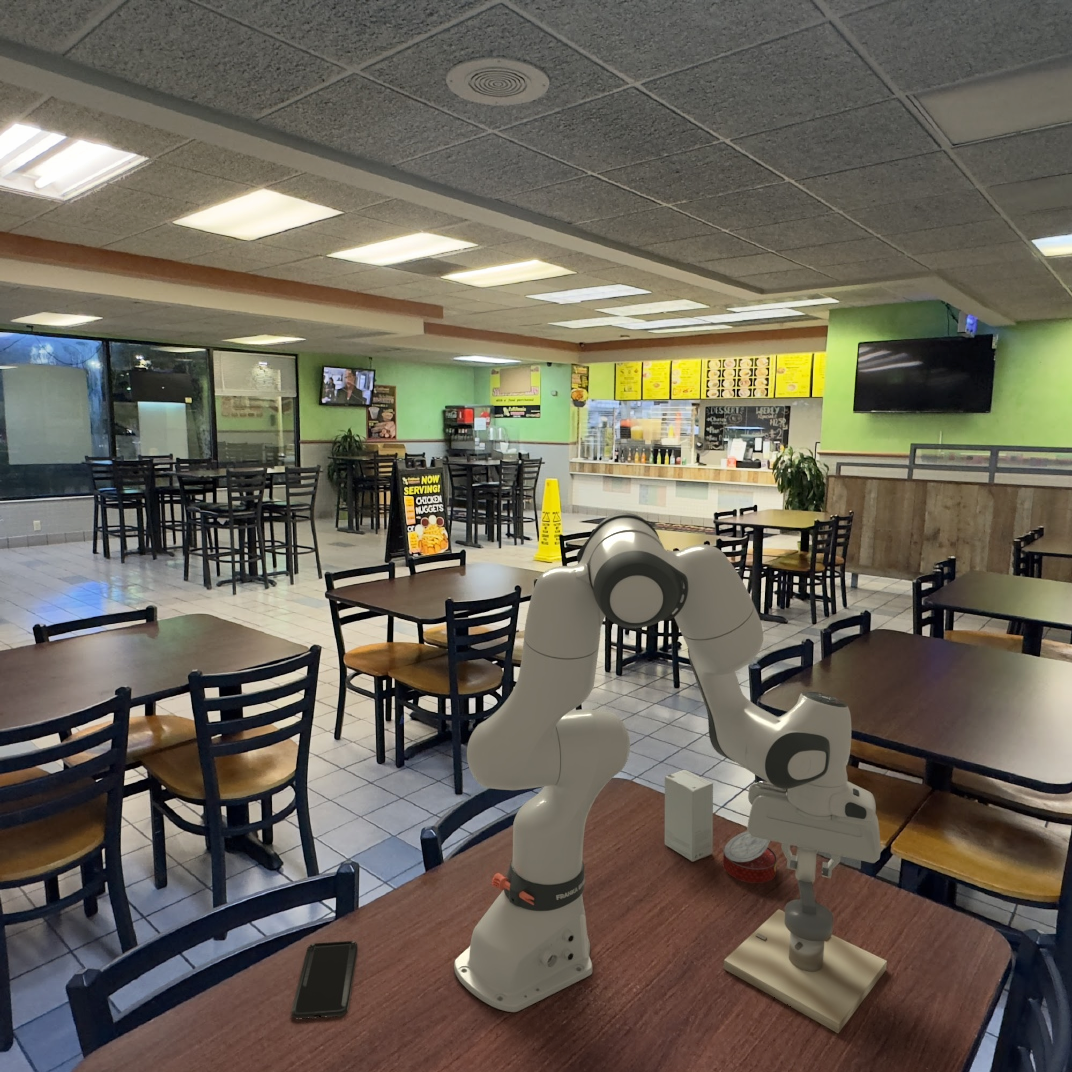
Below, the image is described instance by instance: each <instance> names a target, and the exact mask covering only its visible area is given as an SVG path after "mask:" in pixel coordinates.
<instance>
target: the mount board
mask: <svg viewBox="0 0 1072 1072" xmlns="http://www.w3.org/2000/svg"><path fill="white" fill-rule="evenodd" d="M784 920H785V910H784V911H783V910H782V909H777V910H776V911H775V912H774V913H773V914H772V915H771V916H770V917H769V918H768V919H766V921H764V922H763V923H762V924H761V925H760V926H759V927H758V928H757V929H756V930H755V931H754V932H752V933H751V934H750V935H749V936H748V937H747V938H745V940H744V941H743V942H742V943H741V944H739V945H738V946H737V947H736V948H735V949H734V950H733V951H732V952H731V953H729V955H727V956H726V958H725V959H724V960H723V969H724V970H725V971H726V972H728V973H730V974H732V975H734V976H736V977H737V978H739V979H741V980H743V981H744V982H746V983H748V984H750V985H752V986H754V987H755V988H757V989H759V990H760V991H762V992H763V993H766V994H767V995H770V996H771V997H773V998H774V997H775V998H774V999H777V1000H778V1001H780V1002H781V1003H783V1004H785V1005H787V1004H788V1005H787V1006H789V1007H790V1006H791V1007H790V1008H792V1009H794V1010H796V1011H798V1012H799V1013H801V1014H803V1015H804V1016H807V1017H809V1018H810V1019H812V1020H813V1021H815V1022H817V1023H819V1024H821V1025H823V1026H824V1027H825V1028H826V1029H827V1028H828V1029H829V1030H831V1031H833V1032H835V1033H836V1034H839V1033H840V1032H841V1031H842V1029H844V1027H845V1026H846V1024H847V1023H848V1021H849V1020H851V1017H852V1016H853V1014H854V1013H855V1012H856V1011H857V1010H858V1008H859V1007H860V1005H861V1004H862V1002H863V1001H864V1000H865V998H866V997H867V996H868V994H869V993H870V992H871V990H872V989H873V988H874V987H875V985H876V984H877V982H879V979H880V978H881V977H882V976H883V974H885V972H886V970H887V962H888V960H886V959H884V958H882V957H880V956H877V955H875V954H873V953H872V952H870V951H867V950H865V949H864V948H860V947H859V946H857V945H855V944H852V943H850V942H848V941H846V940H844V939H842V938H840V937H838V936H836V935H834V934H832V935H831V937H830V938H829V939H827V940H824V941H809V940H805V939H802V938H800V937H797V936H796V935H794V934H793V933H791V932H790V931H789V930H788V929H787V927H786V926H785V923H784Z"/></svg>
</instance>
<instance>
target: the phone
mask: <svg viewBox="0 0 1072 1072" xmlns="http://www.w3.org/2000/svg"><path fill="white" fill-rule="evenodd" d="M358 948H359V947H358V943H357V942H356V941H354V940H349V941H348V940H347V941H344V940H343V941H331V942H317V943H316V942H315V943H312V944H310V945H308V947H307V949H306V952H305V956H304V960H303V965H302V968H301V973H300V976H299V979H298V983H297V987H296V991H295V995H294V1000H293V1004H292V1008H291V1016H293V1017H294V1018H308V1017H309V1018H312V1019H314V1018H313V1017H319V1016H321V1017H325V1016H327V1017H325V1018H335V1016H338V1017H342V1016H345V1015H346V1014H347V1013H348V1011H349V1007H350V1000H351V995H352V987H353V981H354V975H355V967H356V962H357V957H358ZM332 1016H334V1017H332ZM293 1017H292V1018H293ZM294 1018H293V1019H294Z"/></svg>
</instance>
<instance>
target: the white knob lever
mask: <svg viewBox="0 0 1072 1072" xmlns="http://www.w3.org/2000/svg"><path fill="white" fill-rule="evenodd" d="M796 847H797V848H796V856H797V864H796V870H795V875H794V876H795V879H796V880H797V885H798V892H799V897H800V898H798V899H792V900H790V901H788V902H787V903H786V905H785V906H784V907H785V908H784V912H785V920H784V923H785V926H786V927H787V929H788V930H789V931H790V932H791V933H793V934H794V935H796V936H797V937H800V938H802V939H805V940H809V941H824V940H827V939H829V938H830V937H831V935H833V929H834V928H833V927H834V915H833V913H832V912H831V910H830V909H829V908H828V907H827V906H825V905H823V904H821V903H820V902H817V901H816V896H815V890H814V885H813V883H814V882H815V880H816V866H817V865H816V864H817V856H818V855H817V853H818V851H816V850H811V849H807V848H802V847H798V846H796Z"/></svg>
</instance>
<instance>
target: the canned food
mask: <svg viewBox="0 0 1072 1072" xmlns="http://www.w3.org/2000/svg"><path fill="white" fill-rule="evenodd" d="M770 843H771V840H766V839H762V838H757V837H753V836H751V834H750V833H749V831H748V830H745V831H743V832H740V833H738V834H736V835H735V836H734V837H732V838H730V840H729V841H728V842H727V843H726V844H725V846H724V847H723V858H722V860H723V861H722V866H723V869H724V870H725V872H726V873H727V874H728V875H730V876H731V877H733V878H735V879H736V880H740V881H743V882H745V883H751V884H762V883H763V884H764V883H767V882H770V881H773V879H774V878H775V877H776V875H777V864H778V862H777V861H778V858H777V857H778V856H777V855H776V853H775V852H774V851H773V849H771V848H770V847H769V845H770Z"/></svg>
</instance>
